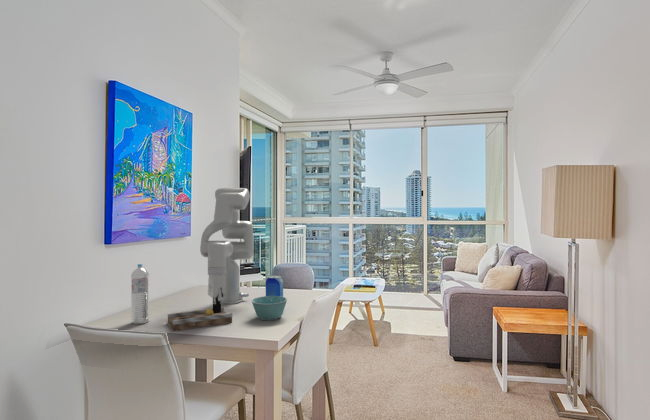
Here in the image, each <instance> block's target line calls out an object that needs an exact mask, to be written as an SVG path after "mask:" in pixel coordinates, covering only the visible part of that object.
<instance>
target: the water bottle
mask: <svg viewBox="0 0 650 420" xmlns="http://www.w3.org/2000/svg"><path fill="white" fill-rule="evenodd" d="M130 277H131V278H130V279H131V293H130V294H131V297H130V298H131V302H130V303H131V304H130V305H131V306H130V309H131V311H130V312H131V317H130V318H131V319H130V320H131V324H133V325H144V324H148V322H149V318H150V317H149V316H150V313H149V311H150V310H149V307H150V306H149V299H150V298H149V295H150V294H149V277H150V275H149V273H148V271H147V270H146V269H145V268H143V264H141V263H140V264H137V268H135V270H133V271H132V272H131V275H130Z"/></svg>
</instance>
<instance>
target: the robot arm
mask: <svg viewBox="0 0 650 420" xmlns="http://www.w3.org/2000/svg"><path fill="white" fill-rule="evenodd" d="M250 197H251V195H250V190H249V189H248V188H245V187H221V188H217V189H216V190H215V191H214V198H215V205H214V206H215V207H214V215H213V221H212V222H210V223H209V224H208V225H207V226H206V227H205V228H204V230H203V231H202V235H201V239H200V246H199V247H200V249H199V251H200V255H201V256H202V257H204V258H207V276H208V280H207V283H208V285H207V295H208V296H209V297H210V298H211V299H212V309H213V313H214V314H216V313H221V307H222V305H234V304H235V305H236V304H239V303H240V304H241V303H242V302H243V301H244V300H243V298H244V297H245V298H248V297H249V295H250V294H249V293H248V292H241V291H240V287H241V284H240V280H241V279H240V272H241V271H240V270H241V269H240V266H239V263H237V262H236V261H237V260H240V261H241V260H242V261H243V260H244V261H245V260H251V259H252V258H253V256H254V227H253V224H252V223H251V221H249V220H239V211H243V210H245V209H246V208H247V206H248V204H249V202H250ZM220 231H221V234H222V237H223V238H224V239H227V240H209V239H210V238H211V236H213V235H214V234H215V233H217V232H220ZM231 239H232V240H235V241H229V240H231ZM236 240H244V241H236ZM235 260H236V261H235Z"/></svg>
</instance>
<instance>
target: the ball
mask: <svg viewBox="0 0 650 420" xmlns="http://www.w3.org/2000/svg"><path fill="white" fill-rule="evenodd" d="M212 309H213V308H207V310H206V315H207V316H211V315H213V310H212Z"/></svg>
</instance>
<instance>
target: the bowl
mask: <svg viewBox="0 0 650 420" xmlns="http://www.w3.org/2000/svg"><path fill="white" fill-rule="evenodd" d="M287 300H288V298H286V297H284V296H283V297H281V296H266V295H265V296H258V297H255V298H253V299H251V303H252V306H253V309H254V311H255V315H256V316H257V318H259V319H260V320H262V321H274V320H278V319H280V318H281V317H282V315H283V314H284V312H285V311H284V310H285V307H286V304H287Z"/></svg>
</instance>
